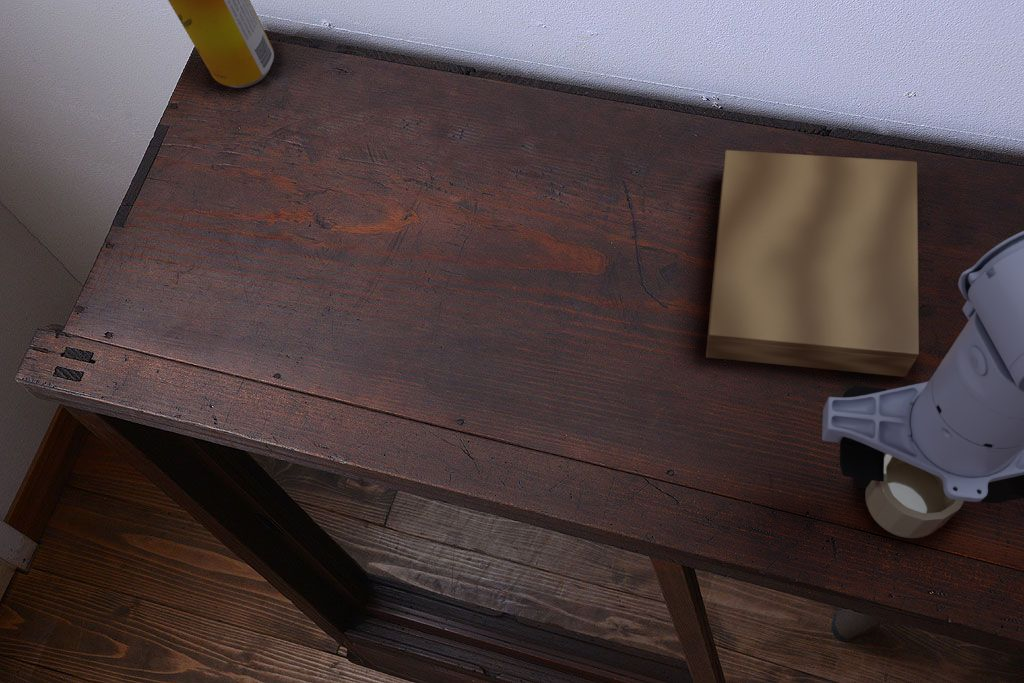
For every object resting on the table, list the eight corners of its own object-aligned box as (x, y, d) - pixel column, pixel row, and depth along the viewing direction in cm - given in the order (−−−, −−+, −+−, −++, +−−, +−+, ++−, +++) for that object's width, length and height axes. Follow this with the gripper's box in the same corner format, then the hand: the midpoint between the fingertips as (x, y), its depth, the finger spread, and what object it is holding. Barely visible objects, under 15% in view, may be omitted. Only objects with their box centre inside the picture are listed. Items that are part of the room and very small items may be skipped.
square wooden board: (905, 190, 76) (917, 161, 72) (905, 377, 69) (919, 354, 66) (722, 178, 78) (725, 149, 75) (705, 357, 71) (708, 334, 68)
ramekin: (947, 466, 66) (967, 443, 62) (949, 544, 64) (969, 525, 60) (865, 456, 67) (879, 433, 63) (864, 533, 65) (879, 514, 61)
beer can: (223, 40, 92) (152, -93, 78) (284, 42, 91) (222, -92, 77) (205, 90, 89) (127, -38, 76) (267, 93, 88) (199, -36, 75)
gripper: (840, 453, 49) (800, 526, 61) (1156, 489, 46) (1049, 558, 58) (843, 328, 52) (805, 421, 64) (1141, 356, 49) (1042, 447, 61)
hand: (921, 479), depth 61 cm, fingers open, 7 cm apart
